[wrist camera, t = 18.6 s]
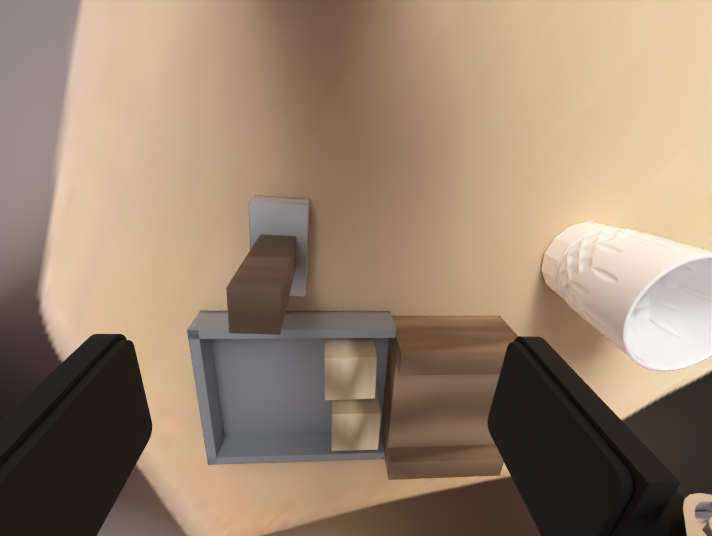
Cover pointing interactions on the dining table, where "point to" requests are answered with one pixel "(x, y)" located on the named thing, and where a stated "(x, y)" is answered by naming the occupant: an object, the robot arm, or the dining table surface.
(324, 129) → the dining table surface
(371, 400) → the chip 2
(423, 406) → the slot block
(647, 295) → the white cup
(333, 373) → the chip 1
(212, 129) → the dining table surface
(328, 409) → the tray
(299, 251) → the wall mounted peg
